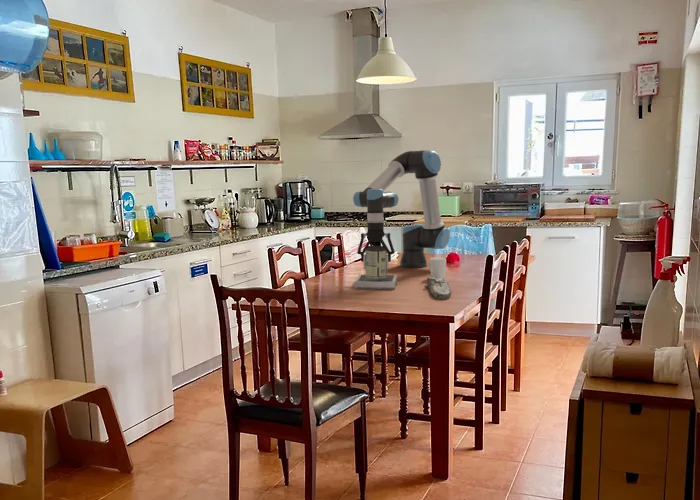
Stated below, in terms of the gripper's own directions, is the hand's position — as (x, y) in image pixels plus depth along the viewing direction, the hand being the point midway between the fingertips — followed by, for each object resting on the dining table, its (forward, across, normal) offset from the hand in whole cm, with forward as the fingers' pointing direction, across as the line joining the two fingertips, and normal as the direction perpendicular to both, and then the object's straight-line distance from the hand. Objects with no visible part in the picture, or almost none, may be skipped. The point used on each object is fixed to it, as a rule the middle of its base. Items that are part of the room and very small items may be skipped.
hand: (376, 268), depth 282 cm
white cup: (+8, +29, +18) cm, 35 cm away
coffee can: (+4, 0, 0) cm, 4 cm away
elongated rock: (+9, +29, -11) cm, 33 cm away
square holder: (+8, 0, 0) cm, 8 cm away
